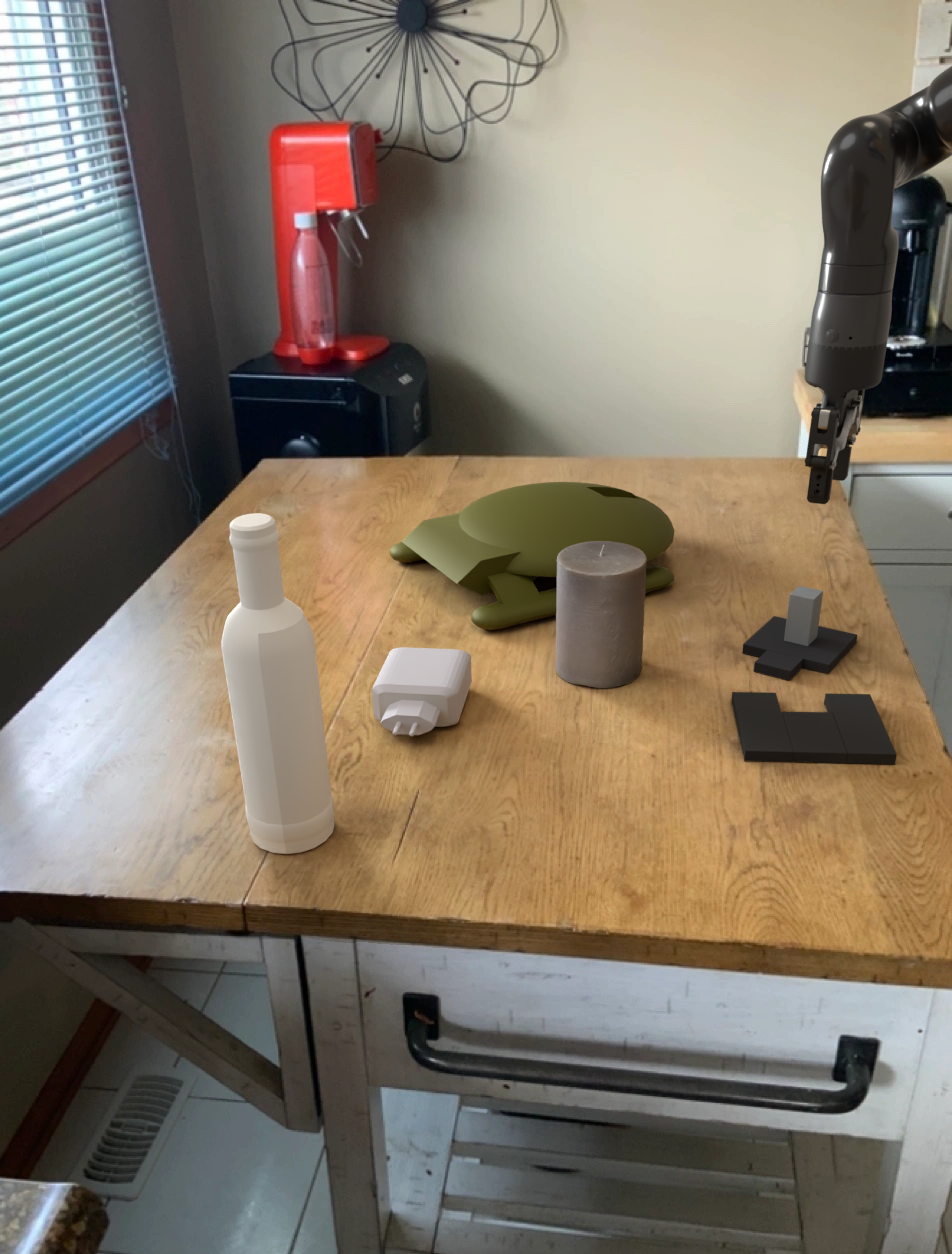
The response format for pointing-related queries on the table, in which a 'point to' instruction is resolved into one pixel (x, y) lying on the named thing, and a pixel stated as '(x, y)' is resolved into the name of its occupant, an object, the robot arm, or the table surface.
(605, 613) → the pillar candle
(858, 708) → the pad
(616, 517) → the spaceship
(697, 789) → the table surface
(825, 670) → the loose pad
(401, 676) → the charger
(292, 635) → the bottle
